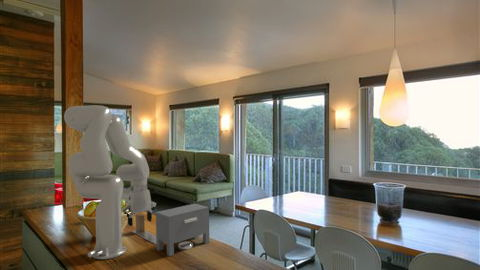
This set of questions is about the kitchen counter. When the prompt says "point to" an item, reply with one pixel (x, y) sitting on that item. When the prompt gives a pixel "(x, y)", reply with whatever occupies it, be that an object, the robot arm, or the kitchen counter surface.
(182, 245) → the token
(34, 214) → the kitchen counter surface
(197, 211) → the cabinet
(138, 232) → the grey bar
